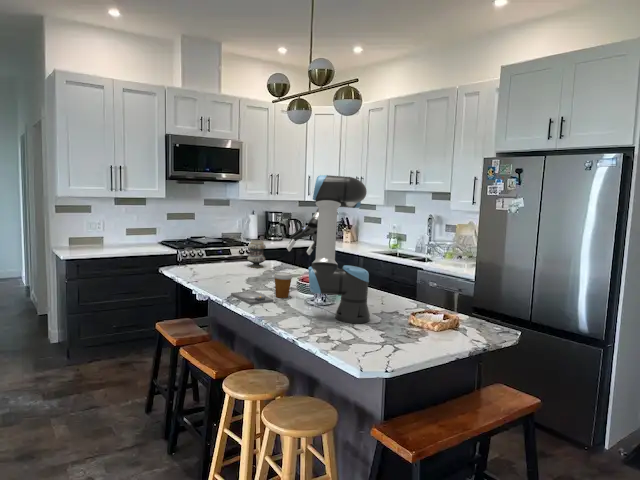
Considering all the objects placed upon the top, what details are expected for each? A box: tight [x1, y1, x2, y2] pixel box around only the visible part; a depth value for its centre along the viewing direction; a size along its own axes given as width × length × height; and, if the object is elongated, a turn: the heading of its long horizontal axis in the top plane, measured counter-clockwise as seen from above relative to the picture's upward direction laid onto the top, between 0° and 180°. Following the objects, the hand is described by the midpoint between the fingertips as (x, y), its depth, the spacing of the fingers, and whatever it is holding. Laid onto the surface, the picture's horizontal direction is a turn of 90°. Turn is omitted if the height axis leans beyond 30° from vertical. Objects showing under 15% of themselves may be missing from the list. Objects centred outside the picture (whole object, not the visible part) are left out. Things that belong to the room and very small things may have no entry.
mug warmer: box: [230, 290, 275, 306], centre depth 239 cm, size 20×13×3 cm, turn 37°
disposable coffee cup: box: [273, 271, 293, 299], centre depth 247 cm, size 10×10×12 cm
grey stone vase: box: [247, 239, 267, 269], centre depth 326 cm, size 12×12×18 cm
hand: (297, 251), depth 254 cm, fingers open, 13 cm apart
